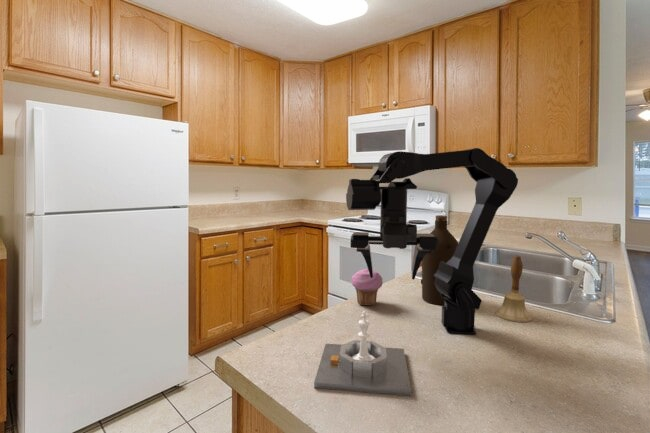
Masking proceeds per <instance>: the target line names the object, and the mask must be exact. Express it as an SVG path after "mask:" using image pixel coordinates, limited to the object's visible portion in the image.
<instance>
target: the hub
mask: <svg viewBox="0 0 650 433" xmlns="http://www.w3.org/2000/svg"><path fill="white" fill-rule="evenodd" d="M360 344H361V339H360V340H359V339H356V340H354V339H353V340H351V341H349V342H346V343H343V344H339V343H338V344H337V343H325V345H324V349H323V352H322V354H321V359H320V362H319V364H318V369H317V372H316V375H315V379H314V385H313V388H315V389H324V390H337V391H348V392H349V391H350V392H360V393H372V394H381V395H382V394H385V395H396V396H407V397H411V396H412V388H411V383H410V382H411V381H410V377H409V372H408V366H407V360H406V354H405V350H404V349H405V348H400V347H399V348H397V347H385V346H383V345H382V344H379V343H378V342H375V341H372V340H367V348H368V353H369V354H370V355H372V356H373V357H375V359H373V360H371V361H367V360H355V359H353V358H352V356H354V355H356V354H358V353H359V351H360Z"/></svg>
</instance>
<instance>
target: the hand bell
mask: <svg viewBox="0 0 650 433" xmlns="http://www.w3.org/2000/svg"><path fill="white" fill-rule="evenodd" d="M510 273H511V278H512V282H511V289H510V290H511V291H510V292H507V293H506V294H504V299H503V302H502V304H501V306H500V307H499V308H497V309H496V310H495V315H497V316H498V317H499V318H501V319H504V320H506V321H509V322H517V323H528V322H531V321H532V320H533V318H532V316H531V314H530V313H529V312H528V310H527V306H526V303H525V302H526V301H525V297H524V295H521V294H520V293H519V292H520V279H521V277H522V274H523V262H522V259H521V255H514V258H513V260H512V262H511V266H510Z"/></svg>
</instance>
